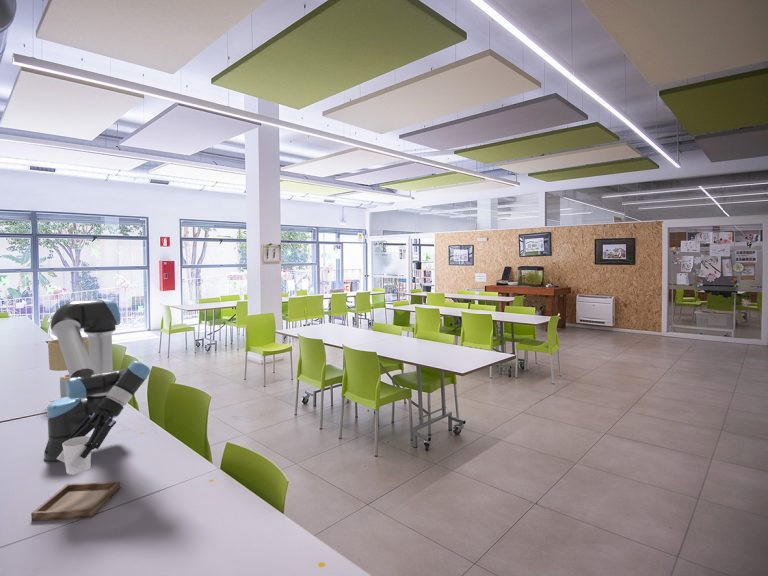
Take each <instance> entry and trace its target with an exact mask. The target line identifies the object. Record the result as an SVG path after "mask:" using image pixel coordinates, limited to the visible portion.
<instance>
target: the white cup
mask: <svg viewBox="0 0 768 576" xmlns="http://www.w3.org/2000/svg"><path fill="white" fill-rule="evenodd" d="M90 437H91V436H87V435H86V436H82V437H75V438H72V439H69V440H67V441H65V442H64V443H63V444H62V445H63V453H64V461H65V462H64V467H65V471H66V474H67V475H79V474H82V473H85V472H87V471H88V470H90V468H91V467H92V466H91V460H92V451H91V452H90V453H89V454H88V455H87V457H86V458H85V459H84V460H83V462H82V463H81V464H80V466H79V467H78V468H75V467H72V466H70V465H69V464H70V463H71V462H72V461H73V459H74V458H75V457H76V455H77V454H78V453H79V452H80V450H81V449H82V448H83V447H84V446H85V444H87V443H88V441H89V439H90ZM85 447H86V446H85Z"/></svg>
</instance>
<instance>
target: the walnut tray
mask: <svg viewBox="0 0 768 576" xmlns="http://www.w3.org/2000/svg"><path fill="white" fill-rule="evenodd" d="M120 489H121V481H120V480H119V481H98V482H95V481H94V482H80V483H79V482H77V483H76V482H74V483H66V484H65V485H64V486H63V487H61V489H59V490H58V491H57V492H55V493H54V494H53V495H51V497H49V498H48V499H47V500H45V501H44V502H43V503H42V504H41V505H39V506H38V507H37V508H36V509H35V510H34V511H32V512H31V514H30V515H31V518H30V519H31V522H37V521H57V520H58V521H59V520H77V519H92V518H93V517H94V516H96V514H97V513H99V511H100V510H101V509H103V507H105V505H106V504H107V503H108V502H109V501H110V500H111V499H112V498H113V496H115V495H116V493H118V492H119V490H120ZM109 499H110V500H109ZM108 500H109V501H108Z"/></svg>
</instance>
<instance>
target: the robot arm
mask: <svg viewBox="0 0 768 576" xmlns="http://www.w3.org/2000/svg"><path fill="white" fill-rule="evenodd" d="M120 324H121V313H120V309H119V307H118V304H117V303H116V301H114V300H113V299H90V300H80V301H79V300H78V301H76V300H75V301H70V302H67V303H65V304H63V305H62V306H60V307H59V308H58V309H57V310H56V311H55V312H54V314H53V316H52V318H51V321H50V329H51V333H52V334H53V336H55V337H56V339H58V341H59V345H60V348H61V351H62V354H63V357H64V360H65V363H66V366H67V370H66V371H67V373H68V375H69V376H70V379H67V380H66V384H65V388H66V394H67V396H68V397H64V398H61V399H58V400H56V401H54V402H50V403H49V405H48V406H47V409H46V419H47V433H48V435H47V437H48V440H47V442H46V445H45V449H44V451H43V452H44V453H43V457H44V458H43V459H44V460H45V461H47V462H62V463H65V461H64V453H63V445H62V444H63V443H64V442H65V441H67V440H69V439H72V438H75V437H82V436H87V435H88V434H89V433H90V432H91V431H92V434H91V435H90V436H89V437H90V439H89V441H88V443H87V444H85V446H86V447H85V446H84V447H83V448H82V449H81V450H80V452H79V453H78V454H77V455H76V457H75V458H74V459H73V461H72V462H71V463H70V464H69V465H70V466H72V467H75V468H78V467H79V466H80V464H81V463H82V462H83V460H84V459H85V458H86V457H87V455H88V454H89V453H90V452H91V453H92V450H93V451H94V450H95V449H96V450H98V449H99V448H100V447H101V446H102V444H103V442H104V441H105V439H106V438H107V436H108V434H109V433H110V431H111V430H112V428H113V427H114V426H115V425H116V423H117V421H116V420H114V419H115V418H118V416H120V415H121V413H122V411H123V410H124V406H127V404H129V402H130V400H131V399H132V398H133V396H134V395H135V394H136V393H137V391H138V390H139V388H140V387H141V386H142V385H143V383H144V382H145V380H147V379H148V377H149V375H150V373H151V368H150V367H149V366H147V365H146V364H144V363H142V362H140V361H138V360H134V361H132V362H131V363H130V364H129V365H128V366H127V368H122V369H117V370H114V369H113V367H114V366H113V363H114V362H113V339H112V338H113V335H112V334H113V333H114V332H115V331H116V326H119V325H120ZM81 329H83V333H85V335H87V336H88V337H87V338H88V339H89V356H88V353H87V350H86V347H85V345H84V342H83V339H82V337H83V335H82V334H81ZM83 397H85V398H83Z"/></svg>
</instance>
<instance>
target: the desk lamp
mask: <svg viewBox="0 0 768 576" xmlns="http://www.w3.org/2000/svg"><path fill="white" fill-rule="evenodd" d="M82 339H83V342H84V345H85V347H86V350H87V353H88V356H89V339H88V337H83V336H82ZM47 345H48V346H47V349H48V366H49V367H48V368H49V370H50V371H55V372H57V371H58V372H62V371H68V370H67V366H66V363H65V360H64V357H63V354H62V351H61V348H60V345H59V341H58V338H56V339H52V340H51V341H50V340H49V341H48V342H47ZM67 379H70V376H69V374H66V375H64V376H61V377H59V390H60V391H59V392H60V396H59V397H57V398H54V399H52V400H50V401H49V402H50V403H52V402H54V401H56V400H58V399H61V398H64V397H68V396H67V394H66V388H65V384H66V380H67ZM83 398H85V397H83Z"/></svg>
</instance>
